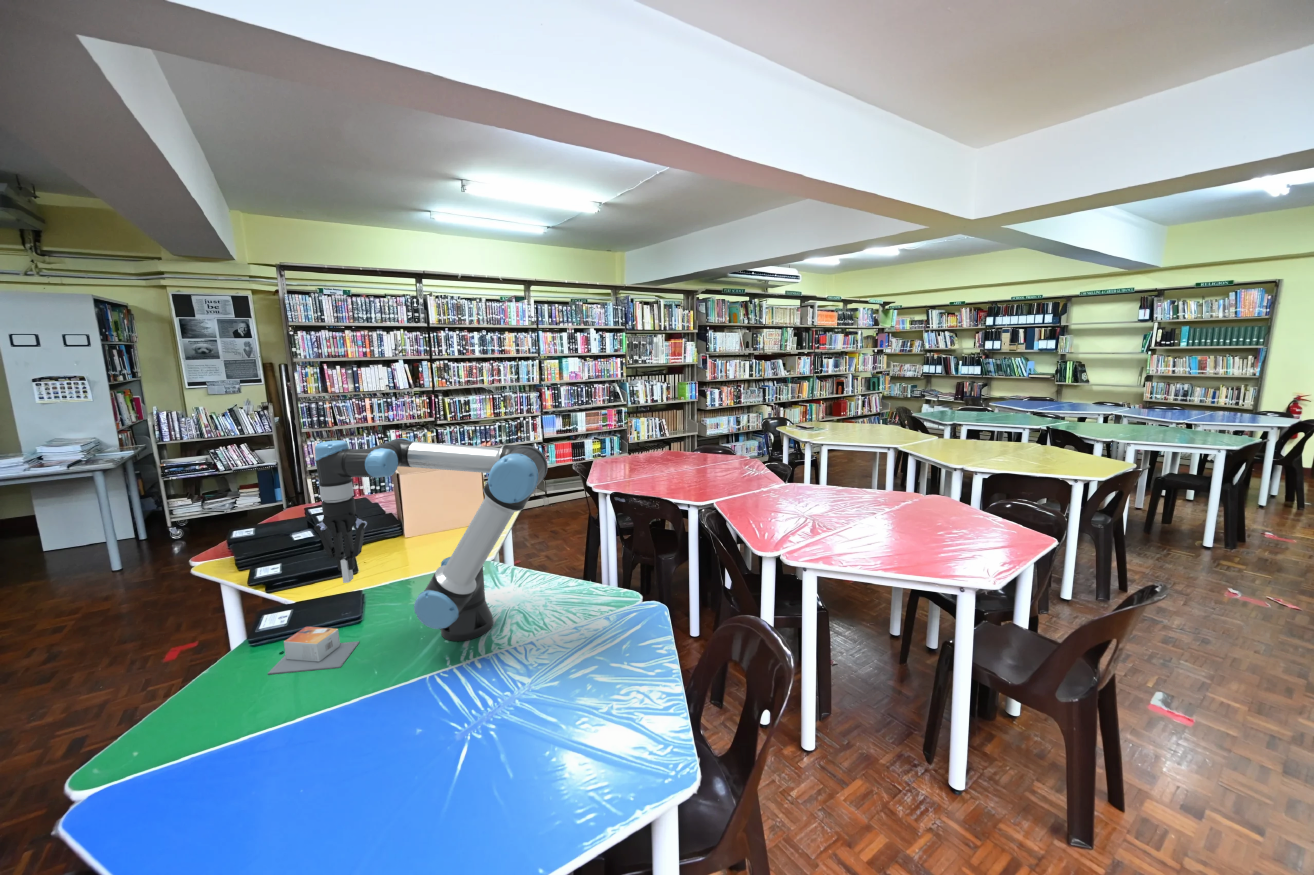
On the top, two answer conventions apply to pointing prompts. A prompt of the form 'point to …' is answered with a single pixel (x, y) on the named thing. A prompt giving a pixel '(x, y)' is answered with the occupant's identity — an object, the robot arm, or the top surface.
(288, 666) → the mat
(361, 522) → the robot arm
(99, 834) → the top surface
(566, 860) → the top surface
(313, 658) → the small box
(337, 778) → the top surface
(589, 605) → the top surface
